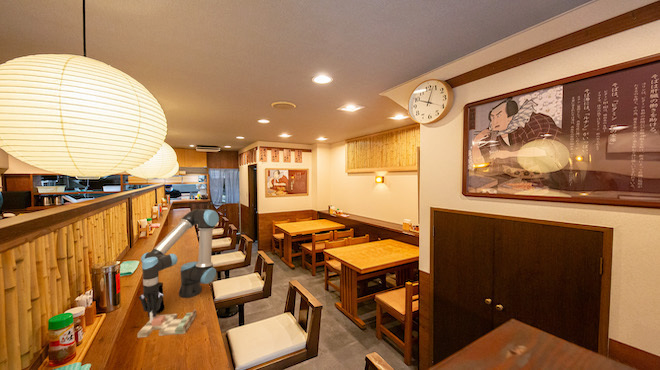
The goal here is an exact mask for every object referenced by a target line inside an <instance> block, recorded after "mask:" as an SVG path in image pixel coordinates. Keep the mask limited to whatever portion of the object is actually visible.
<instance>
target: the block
mask: <svg viewBox="0 0 660 370" xmlns="http://www.w3.org/2000/svg"><path fill="white" fill-rule="evenodd" d="M164 321H165V316H156V317H155V318H154V319H153V320H152V321H151V322H152V326H159V325H162V323H163V322H164Z"/></svg>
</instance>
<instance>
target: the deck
mask: <svg viewBox="0 0 660 370" xmlns="http://www.w3.org/2000/svg"><path fill="white" fill-rule="evenodd" d="M156 316H165V321H164V322H163V323H162V325H159V326H152V323H150V319H149V320H148V321H147V322H146V324H144V326H143V327H142V328H141V329H140V330H138V332H137V334H136V335H137V338H138V339H139V338H148V337H149V336H150V335H151V334H152V332H153V331H154V330H155V331H157V330H159V331H158V336H159V337H160V336H161V337H162V336H169V335H170V336H171V335H185V334H186V333H187V332H188V330H189V328H190V326H191V325H192V323H193V322H194V320H195V318H196V317H197V309H195V308H194V309H193V310H192V312H186V314H185V315H184V317H183V318H178V313H167V314H157V315H156ZM156 316H155V317H156Z"/></svg>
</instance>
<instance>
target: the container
mask: <svg viewBox="0 0 660 370" xmlns="http://www.w3.org/2000/svg"><path fill="white" fill-rule="evenodd" d="M158 283H159V291H160V293H161V294H163V293H164V289H163V287H164V286H163V285H164V283H163V282H161V281H159V282H158ZM158 296H159V295H158ZM158 296H157V299H156V303H157V302H158ZM164 311H165V304H164V296H163V297H162V301H161V305H160V309H159V310H158V311H156V313H157V315H159V314H160V313H162V312H164Z"/></svg>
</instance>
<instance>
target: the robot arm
mask: <svg viewBox="0 0 660 370" xmlns="http://www.w3.org/2000/svg"><path fill="white" fill-rule="evenodd" d="M219 221H220V216H219V214H218V212H216V210H213V209H205V208H204V209H203V208H195V209H192V210H191V211H189V212H188V213H187V212H186V214H185V215H183V217H181V219H180V220H179V223H178V224H176V225H175V227H174V228H172V230H171V231H170V232H169V233H168V234H166V235H165V237H164V238H163V239H162V240H161V241H160V242H159V243H157V245H156V246H155V247H154V248H153V249H151V251H150V252H145V253H144V254H143V255H141V258H140V262H141V269H142V285H143V287H142V289H143V290H142V294H141V295H140V296H139V297H138V299H139V301H140V303H141V305H142V308H143V311H144V313H145V312H147V314H148V316H147V317H148V318H149V320H150V323H152V322H151V321H152V320H153V319H154V318H155V316H156V315H158V314H157V313H156V311H158V310H159V309H160V305H161V301H162V297H163V298H164V296H165V293H164V292H163V294H161V293H160V291H159V283H158V282H160V281H159V279H160V278H159V272H160V271H164V270H166V269H168V268H171V267H173V266H175V265H177V263H178V256H177V255H176V253H169V254H167V253H168V251H169V250H170V249H171V248H173V246H174V245H175V244H176V243H177V242H178V241H179V240H180V238H182V236H183V235H184V234H185V233H186V232H187V231H188V230H189V229H191V228H193V227H194V226H195V225H197V229H198V230H199V236H198V239H199V241H198V256H197V257H198V258H197V261H189V262H187V263H186V262H185V263H183V264H182V265H181V266H180V287H179V290H178V296H179V298H184V299H188V298H192V297H195V296H198V295H199V294H201V293H202V291H201V290H202V284H207V285H208V284H210V283H212V282H213V280H215V278H216V275H217V269H216V268H214V263H213V262H212V249H213V247H212V246H213V245H212V244H213V232H214V231H213V230H214V229H215V228H216V226H217V225H218V223H219ZM166 254H167V255H166ZM158 295H159V296H158ZM157 296H158V302H157V303H156V299H157Z"/></svg>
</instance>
